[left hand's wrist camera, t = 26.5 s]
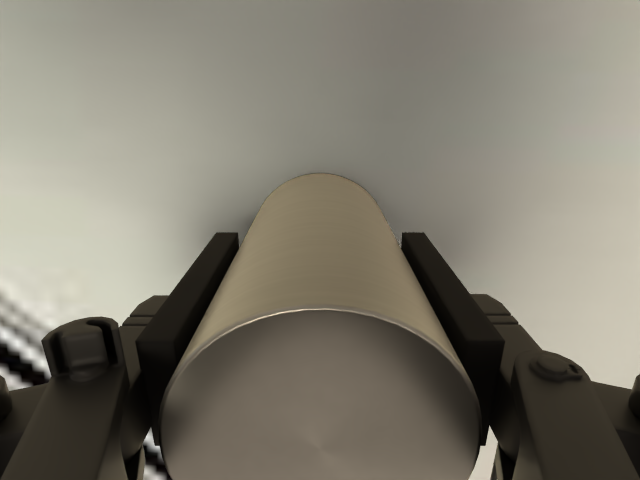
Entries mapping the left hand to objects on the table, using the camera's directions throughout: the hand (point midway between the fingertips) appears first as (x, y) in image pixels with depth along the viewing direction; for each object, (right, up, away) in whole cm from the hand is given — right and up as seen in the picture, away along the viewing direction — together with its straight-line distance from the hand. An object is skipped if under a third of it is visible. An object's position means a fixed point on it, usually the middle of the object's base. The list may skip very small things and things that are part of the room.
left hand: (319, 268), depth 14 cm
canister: (0, +1, +3) cm, 3 cm away
